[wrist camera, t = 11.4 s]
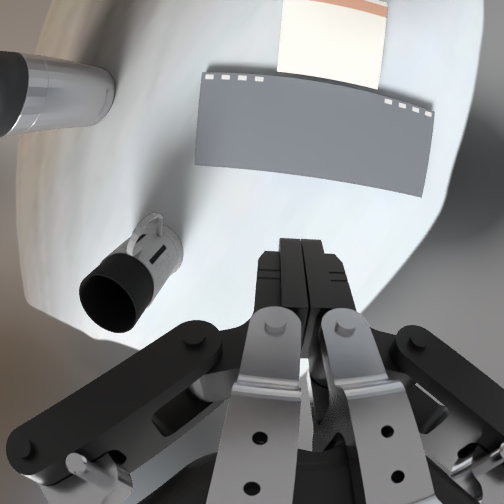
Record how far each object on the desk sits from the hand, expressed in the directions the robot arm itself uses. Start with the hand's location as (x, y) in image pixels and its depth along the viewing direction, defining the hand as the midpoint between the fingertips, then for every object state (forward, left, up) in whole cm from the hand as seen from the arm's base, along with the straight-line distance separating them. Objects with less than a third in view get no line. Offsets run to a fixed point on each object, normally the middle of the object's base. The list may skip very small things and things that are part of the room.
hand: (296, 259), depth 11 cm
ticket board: (+2, +7, -27) cm, 28 cm away
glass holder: (-11, -16, -27) cm, 33 cm away
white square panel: (0, +12, -26) cm, 28 cm away
